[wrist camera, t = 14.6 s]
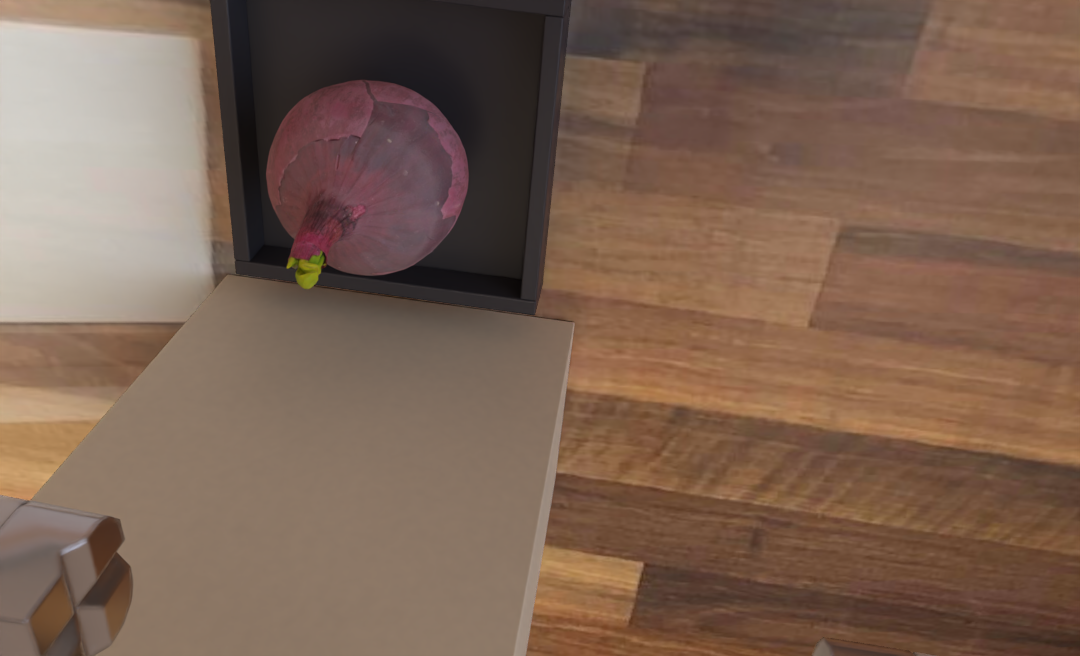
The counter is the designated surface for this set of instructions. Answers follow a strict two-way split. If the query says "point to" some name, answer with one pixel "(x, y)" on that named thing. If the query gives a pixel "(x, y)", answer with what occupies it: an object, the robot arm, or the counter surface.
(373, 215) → the vegetable
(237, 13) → the pan
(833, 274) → the counter surface
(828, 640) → the robot arm
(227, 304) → the column
